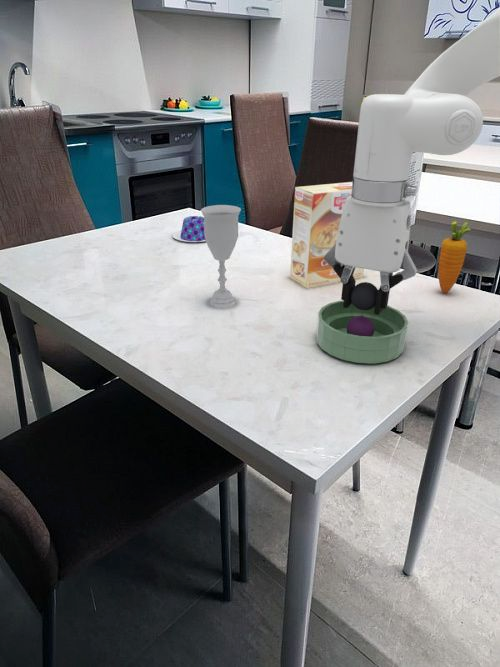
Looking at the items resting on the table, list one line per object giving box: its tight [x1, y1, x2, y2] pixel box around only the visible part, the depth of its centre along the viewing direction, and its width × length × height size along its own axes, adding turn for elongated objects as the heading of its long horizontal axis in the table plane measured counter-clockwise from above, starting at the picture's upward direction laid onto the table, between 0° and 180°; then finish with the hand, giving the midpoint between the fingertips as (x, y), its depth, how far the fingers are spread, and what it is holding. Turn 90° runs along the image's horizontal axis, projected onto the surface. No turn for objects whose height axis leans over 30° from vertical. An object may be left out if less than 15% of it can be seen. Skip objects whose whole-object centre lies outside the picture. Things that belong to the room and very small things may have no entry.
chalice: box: [200, 204, 242, 309], centre depth 93 cm, size 7×7×18 cm
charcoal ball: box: [351, 281, 379, 310], centre depth 79 cm, size 4×4×4 cm
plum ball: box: [347, 316, 374, 336], centre depth 82 cm, size 4×4×4 cm
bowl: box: [315, 300, 409, 364], centre depth 82 cm, size 14×14×5 cm
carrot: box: [438, 221, 471, 294], centre depth 99 cm, size 5×5×15 cm
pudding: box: [172, 215, 206, 243], centre depth 134 cm, size 12×12×5 cm
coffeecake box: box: [289, 181, 365, 289], centre depth 105 cm, size 15×7×20 cm, turn 117°
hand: (363, 307), depth 80 cm, fingers closed on charcoal ball, 4 cm apart
